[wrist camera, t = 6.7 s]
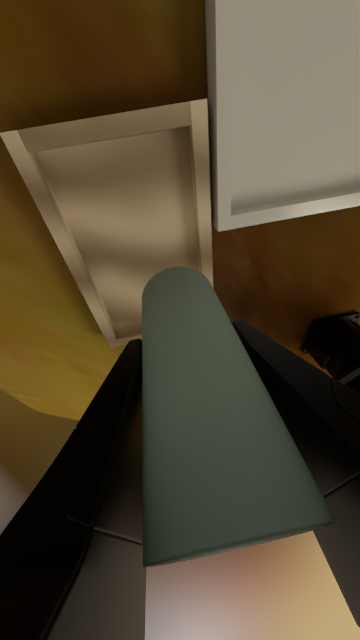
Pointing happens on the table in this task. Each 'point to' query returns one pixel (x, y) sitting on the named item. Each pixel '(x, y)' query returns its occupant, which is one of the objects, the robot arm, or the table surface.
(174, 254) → the tray
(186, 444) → the pin
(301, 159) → the white rimmed platter
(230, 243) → the table surface
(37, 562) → the robot arm
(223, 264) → the table surface
